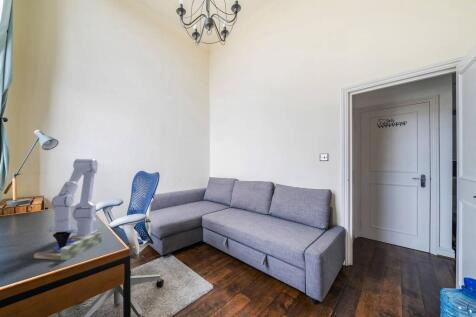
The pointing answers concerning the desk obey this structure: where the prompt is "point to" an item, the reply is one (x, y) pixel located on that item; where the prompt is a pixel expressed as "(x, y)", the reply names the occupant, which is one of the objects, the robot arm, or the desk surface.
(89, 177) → the robot arm
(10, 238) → the desk surface
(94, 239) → the dock
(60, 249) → the hard drive
